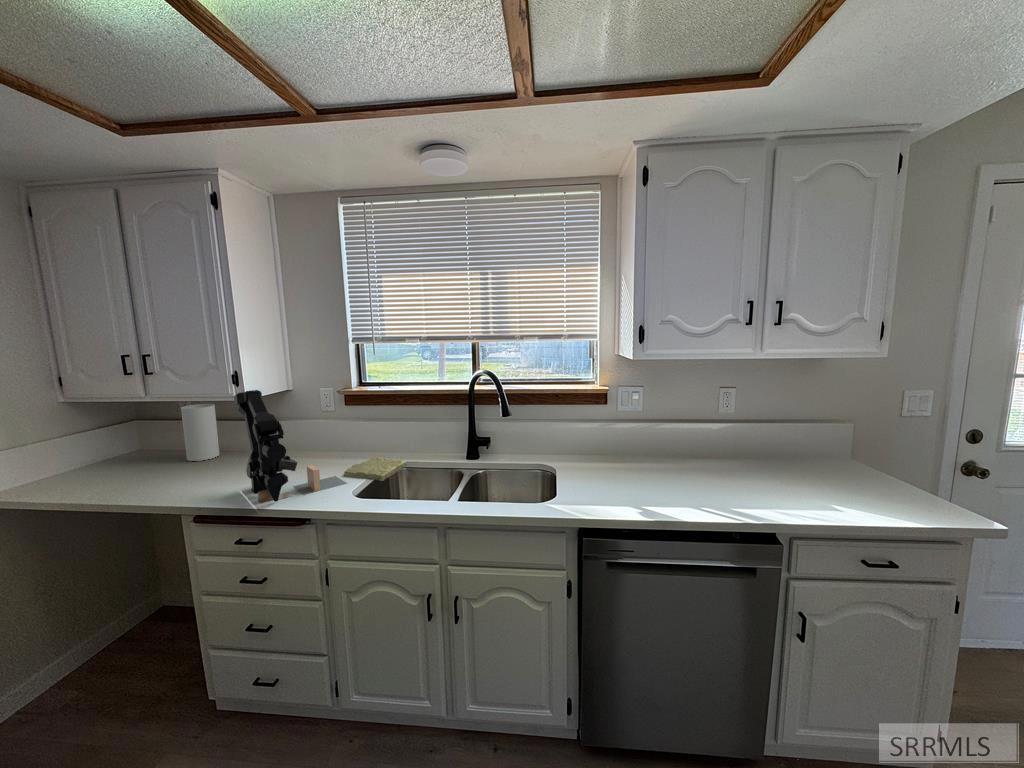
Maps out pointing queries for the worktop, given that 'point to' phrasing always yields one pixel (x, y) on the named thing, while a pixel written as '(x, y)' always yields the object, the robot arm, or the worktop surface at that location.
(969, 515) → the worktop surface
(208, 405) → the cylinder vase
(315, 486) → the terracotta tile
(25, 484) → the worktop surface
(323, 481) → the slate mat
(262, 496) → the grey-capped brown block
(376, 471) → the decorative tile
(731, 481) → the worktop surface
